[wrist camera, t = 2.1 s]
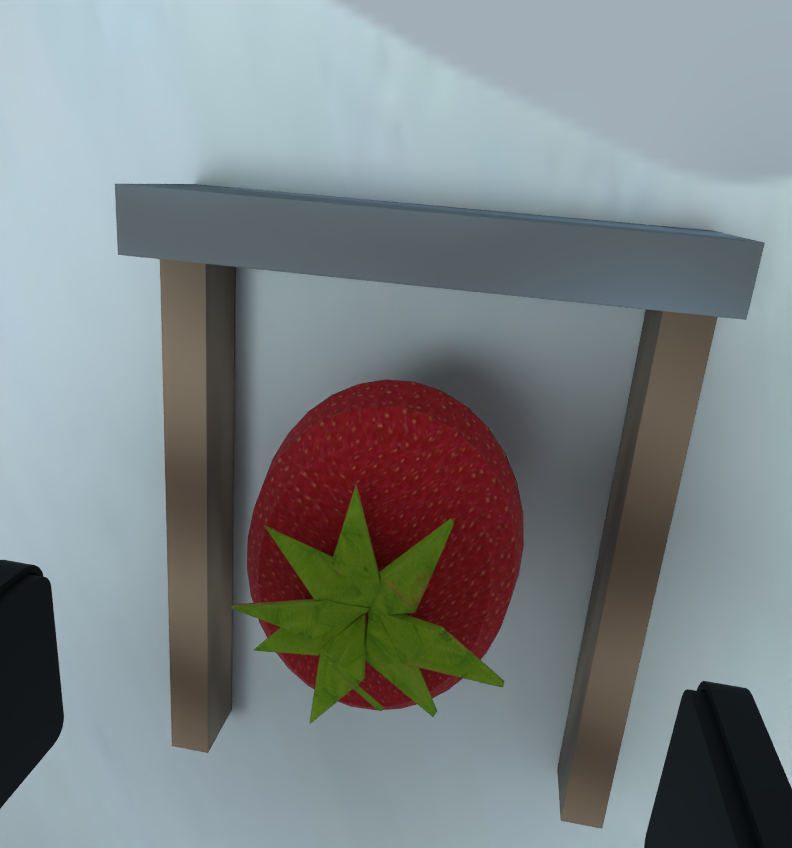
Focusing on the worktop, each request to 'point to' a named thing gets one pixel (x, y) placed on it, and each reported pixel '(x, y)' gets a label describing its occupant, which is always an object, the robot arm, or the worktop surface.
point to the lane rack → (442, 268)
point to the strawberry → (385, 547)
